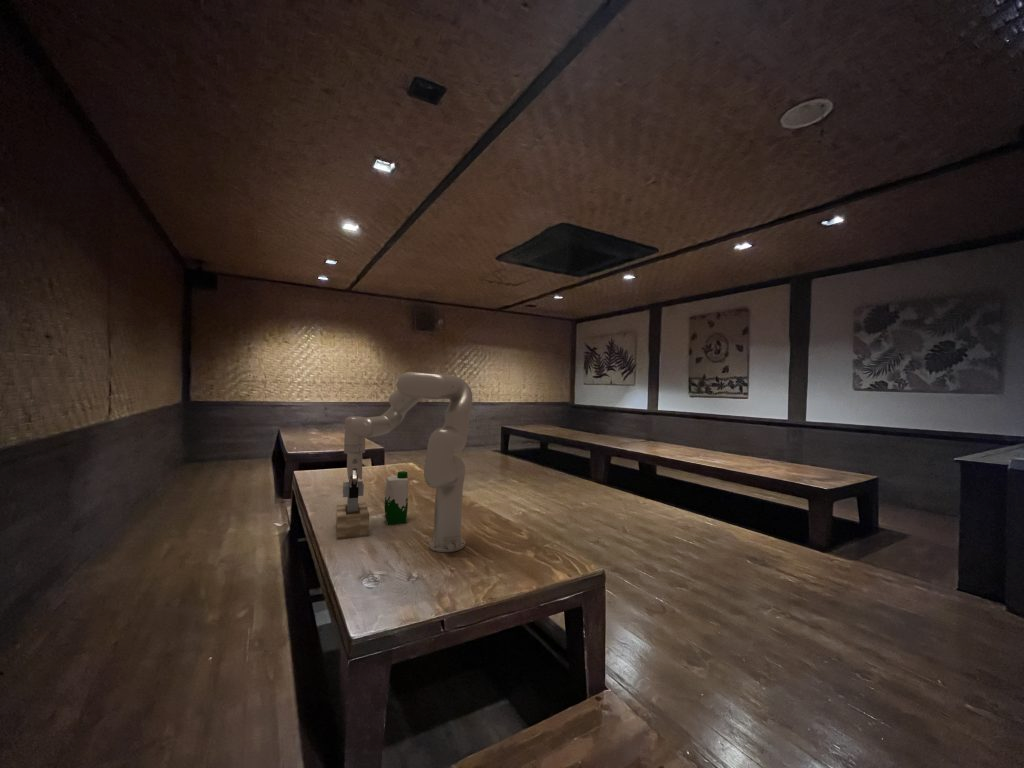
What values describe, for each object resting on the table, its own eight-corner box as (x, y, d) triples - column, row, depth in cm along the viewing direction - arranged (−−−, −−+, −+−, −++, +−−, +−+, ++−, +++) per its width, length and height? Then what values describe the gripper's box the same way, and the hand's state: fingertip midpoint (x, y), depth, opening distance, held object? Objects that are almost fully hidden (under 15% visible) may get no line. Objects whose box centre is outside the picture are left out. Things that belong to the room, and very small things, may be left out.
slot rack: (368, 535, 146) (369, 514, 146) (336, 539, 141) (337, 517, 141) (365, 522, 160) (365, 502, 160) (336, 525, 156) (336, 504, 156)
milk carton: (408, 523, 160) (410, 474, 161) (385, 526, 157) (387, 475, 157) (404, 516, 168) (406, 469, 169) (382, 519, 164) (384, 471, 165)
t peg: (362, 511, 149) (363, 485, 149) (342, 513, 146) (343, 486, 146) (361, 506, 155) (362, 481, 156) (342, 508, 153) (343, 482, 153)
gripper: (366, 451, 145) (365, 500, 145) (363, 445, 161) (361, 489, 160) (344, 452, 142) (343, 502, 141) (343, 445, 158) (341, 490, 157)
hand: (353, 494), depth 151 cm, fingers closed on t peg, 7 cm apart
